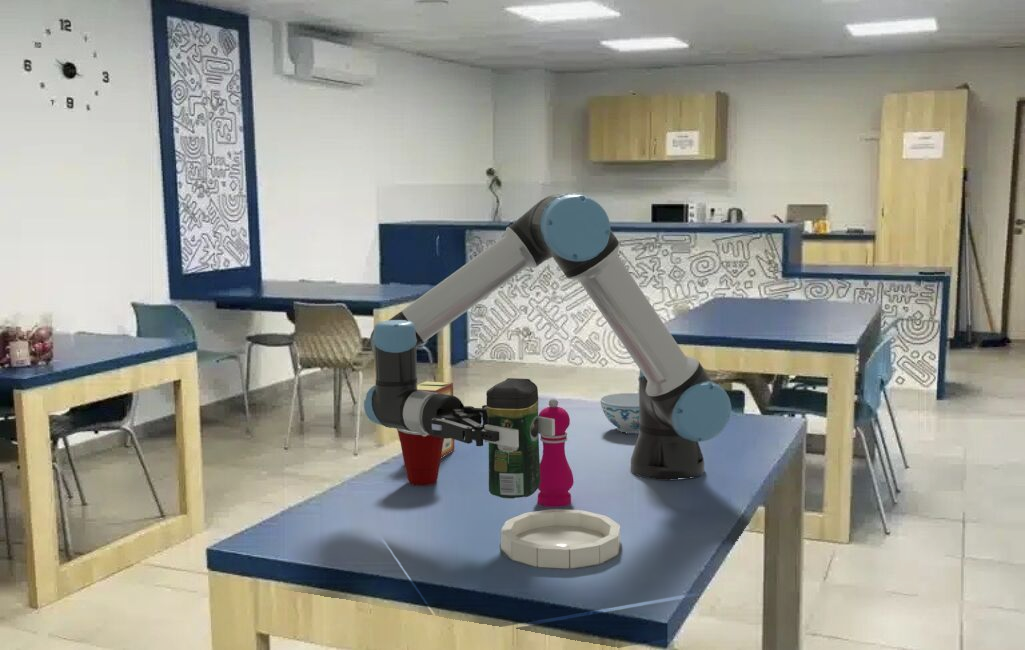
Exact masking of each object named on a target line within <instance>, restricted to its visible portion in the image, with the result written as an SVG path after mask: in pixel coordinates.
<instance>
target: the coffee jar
mask: <svg viewBox="0 0 1025 650" xmlns="http://www.w3.org/2000/svg"><path fill="white" fill-rule="evenodd" d="M538 390H539V389H538V385H537V384H536V383H534V382H533V381H532V380H531V379H530V378H516V377H515V378H514V377H510V378H508V377H507V378H506V379H505V380H503V381H501V382H499V383H497V384H495V385H493V386H492V387H490V388H489V389H487V390H486V405H487V406H486V408H487V416H488V425H494V426H499V427H505V428H510V429H515V430H518V436H519V447H517V448H514V447H509V446H504V445H499V444H494V443H489V442H488V492H489V493H490V494H491V495H492V496H496V497H498V498H501V499H507V500H508V499H509V500H513V499H514V500H515V499H517V498H528V497H530V496H532V495H533V494H534V493H536V492H537V490H539V489H538V487H539V486H540V462H541V460H540V440H539V435H540V434H538V415H539V392H538Z"/></svg>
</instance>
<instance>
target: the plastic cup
mask: <svg viewBox="0 0 1025 650" xmlns="http://www.w3.org/2000/svg"><path fill="white" fill-rule="evenodd" d="M396 430H397V433H398V438H399V442H400V447H401V448H400V449H401V452H402V453H401V454H402V458H403V464H404V468H405V472H406V478H407V480H408V483H409V484H410V485H411V486H416V487H417V486H418V487H419V486H420V487H421V486H422V487H424V486H431V485H434V484H436V483H437V481H438V477H439V473H440V472H439V470H440V466H441V459H442V458H441V454H442V447H443V442H444V438H440V437H435V436H431V435H427V436H426V437H424V436H422V433H418V432H412V431H407V430H402V429H396Z"/></svg>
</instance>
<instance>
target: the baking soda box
mask: <svg viewBox="0 0 1025 650" xmlns="http://www.w3.org/2000/svg"><path fill="white" fill-rule="evenodd" d="M417 390H422V391H429V392H435V393H439V394H446V395H452V396H454V382H450V381H449V382H446V381H445V382H444V381H429V380H428V381H427V380H426V381H423V382H421V383H419V384H417ZM454 449H455V439H452V438H449V439H445V438H444V442H443V447H442V454H441V457H443V456H444V455H446V454H448V453H449V452H451V451H453V450H454ZM454 451H455V450H454ZM454 451H453V452H454ZM451 453H452V452H451ZM449 454H450V453H449ZM449 454H448V455H449ZM446 456H447V455H446ZM444 457H445V456H444ZM444 457H443V458H444Z"/></svg>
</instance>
